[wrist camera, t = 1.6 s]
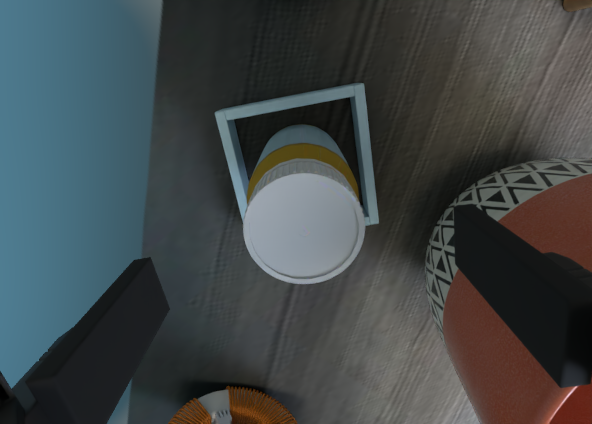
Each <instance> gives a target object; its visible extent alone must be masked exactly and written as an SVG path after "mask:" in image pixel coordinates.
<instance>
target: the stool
mask: <svg viewBox="0 0 592 424" xmlns="http://www.w3.org/2000/svg"><path fill="white" fill-rule="evenodd" d="M563 7H564V9H565V10H566V11H568V12H573V11H577V10H581V9H586V8H590V7H592V0H564V1H563Z"/></svg>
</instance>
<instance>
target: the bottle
mask: <svg viewBox="0 0 592 424" xmlns="http://www.w3.org/2000/svg"><path fill="white" fill-rule="evenodd" d="M244 215H245V216H244V219H243V222H244V223H243V234H244V240H245V243H246V246H247V249H248V251H249V253H250V255H251V256H252V258H253V259H254V261H255V262H256V263H257V264H258V265H259V266H260V267H261V268H262V269H263V270H264V271H265V272H267V273H268V274H270V275H271V276H273V277H275V278H277V279H280V280H282V281H286V282H290V283H295V284H312V283H318V282H322V281H325V280H328V279H330V278H332V277H334V276H336V275H338V274H339V273H341V272H342V271H344V270H345V269H346V268H347V267H348V266H349V265H350V264H351V263H352V262H353V261H354V259H355V258H356V256H357V255H358V253H359V251H360V249H361V246H362V243H363V240H364V235H365V219H364V213H363V209H362V207H361V205H360V202H359V194H358V186H357V183H356V180H355V177H354V175H353V173H352V170H351V168H350V167H349V165H348V163H347V161H346V160H345V158H344V156H343V154H342V153H341V151H340V149H339V148H338V146H337V144H336V143H335V141H334V140H333V139H332V138H331V137H330V136H329V135H328V134H327V133H326V132H325V131H323V130H321V129H320V128H318V127H316V126H312V125H307V124H296V125H290V126H287V127H285V128H283V129H281V130H279V131H278V132H277V133H276V134H275V135H273V136H272V137H271V138H270V140H269V141H268V142H267V144H266V146H265V148H264V150H263V152H262V154H261V156H260V158H259V161H258V163H257V165H256V167H255V169H254V171H253V174H252V176H251V178H250V181H249V185H248V191H247V208H246V211H245V214H244Z"/></svg>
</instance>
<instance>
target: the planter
mask: <svg viewBox="0 0 592 424" xmlns="http://www.w3.org/2000/svg"><path fill="white" fill-rule="evenodd" d="M466 204H474V205H475V206H477V207H478V208H479V209H481V210H482V211H484V212H485V213H486V214H488V215H489V216H491V217H492V218H493V219H495V220H496V221H498V222H499V223H500V224H502V225H503V226H505V227H506V228H507V229H509V230H510V231H512V232H513V233H515V234H516V235H517V236H519V237H520V238H522V239H523V240H524V241H526V242H527V243H529V244H530V245H531V246H533V247H534V248H536V249H537V250H538V251H540V252H541V253H547V252H554V253H557V254H560V255H563V256H565V257H568V258H571V259H572V260H574V261H575V262H577V263H578V264H580V265H581V266H583V268H584V269H587V270H589V271H590V272H592V158H555V159H544V160H536V161H530V162H525V163H521V164H517V165H513V166H510V167H507V168H504V169H501V170H499V171H496V172H494V173H492V174H490V175H488V176H486V177H484V178H483V179H481V180H479V181H478V182H476V183H475V184H473V185H472V186H470V187H469V188H468V189H466V190H465V191H464V192H463V193H461V194H460V195H459V196H458V197H457V198H456V199H455V200H454V201H453V202H452V203H451V204H450V205H449V207H448V208H447V209H446V210H445V212H444V213H443V215H442V216H441V218H440V219H439V221H438V223H437V224H436V226H435V228H434V230H433V232H432V235H431V237H430V240H429V244H428V247H427V252H426V260H425V284H426V292H427V297H428V302H429V307H430V311H431V313H432V316H433V319H434V322H435V324H436V327H437V330H438V332H439V334H440V336H441V339H442V341H443V343H444V345H445V348H446V350H447V352H448V354H449V357H450V359H451V361H452V363H453V366H454V368H455V370H456V373H457V375H458V377H459V379H460V381H461V383H462V385H463V387H464V390H465V392H466V394H467V396H468V398H469V400H470V402H471V404H472V407H473V409H474V411H475V413H476V415H477V418H478V420H479V422H480V424H592V377H591V384H588V385H581V386H573V387H565V388H560V387H559V386H558V385H557V384H556V382H555V381H554V380H553V379H552V378H551V376H550V375H549V374H548V373H547V372H546V371H545V369H544V368H543V367H542V366H541V365H540V364H539V362H538V361H537V360H536V359H535V358H534V357H533V355H532V354H531V353H530V352H529V351H528V349H527V348H526V347H525V346H524V345H523V344H522V342H521V341H520V340H519V339H518V338H517V337H516V335H515V334H514V333H513V332H512V331H511V330H510V328H509V327H508V326H507V325H506V324H505V322H504V321H503V320H502V319H501V318H500V317H499V315H498V314H497V313H496V312H495V311H494V310H493V308H492V307H491V306H490V305H489V304H488V303H487V301H486V300H485V299H484V298H483V297H482V295H481V294H480V293H479V292H478V291H477V290H476V288H475V287H474V286H473V285H472V284H471V283H470V281H469V280H468V279H467V278H466V277H465V275H464V274H463V273H462V272H461V271H460V270H459V268H458V267H457V266H456V265H455V248H454V211H453V207H454V206H460V205H466Z"/></svg>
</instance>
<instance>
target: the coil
mask: <svg viewBox="0 0 592 424" xmlns="http://www.w3.org/2000/svg"><path fill="white" fill-rule="evenodd" d="M251 390H252V389H251V388H250V389H249V391H248V388H246V390H244V387H242V389H241V387H239V388H238V389H237V387H235V388H234V389H233V386H232V387H231V389H230V386H227V387H226V389H225V390H220V391H215V392H212V393H209V394H207V395H205V396H202V397H200V398H198V399H196V398H193V400H190V401H189V403H186V405H184V406H183V407H182V408H181V409H180V410H179V411H178V412H177V413H176V414H175V415H174V416H173V418H172V419H171V421H170V422H169V423H168V424H297V421H296V420H295V418H294V417H292V414H290V411H287V408H285V407H284V405H282V404H281V403H279V401H276V399H275V398H274V399H272V396H271V397H269V395H266V394H265V393H264V394H263V395H262V392H260V393H259V391H258V390H257V391H256V392H255V389H253V392H252V391H251ZM265 396H266V397H265ZM278 403H279V404H278ZM178 414H179V415H178Z"/></svg>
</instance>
